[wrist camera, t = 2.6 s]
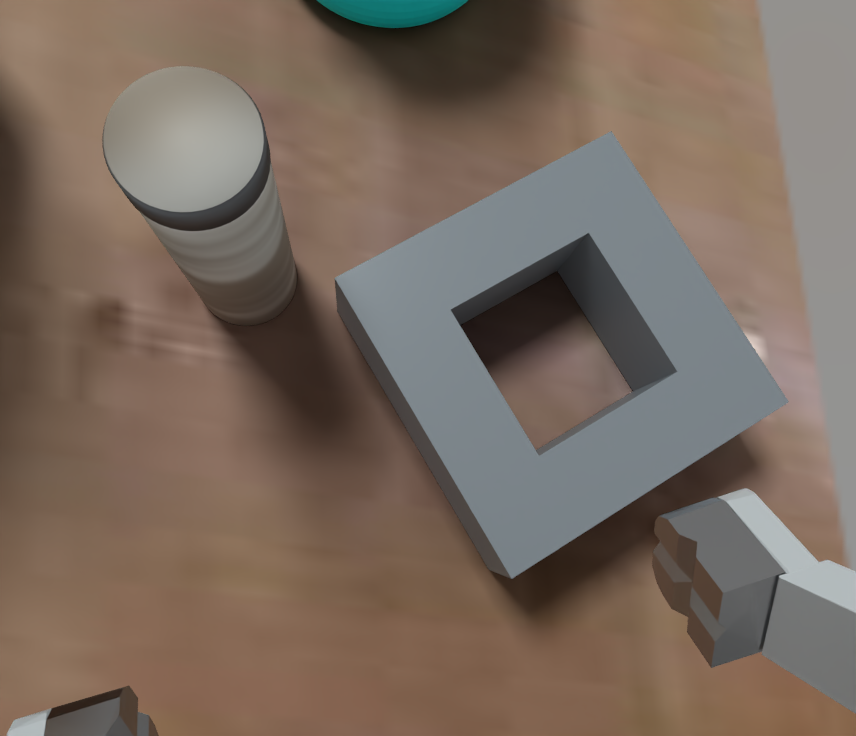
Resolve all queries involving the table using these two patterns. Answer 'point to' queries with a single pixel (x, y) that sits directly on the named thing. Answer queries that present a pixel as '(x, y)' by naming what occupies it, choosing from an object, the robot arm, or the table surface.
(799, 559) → the robot arm
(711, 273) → the table surface
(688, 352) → the socket
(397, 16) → the donuts
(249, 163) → the peg
